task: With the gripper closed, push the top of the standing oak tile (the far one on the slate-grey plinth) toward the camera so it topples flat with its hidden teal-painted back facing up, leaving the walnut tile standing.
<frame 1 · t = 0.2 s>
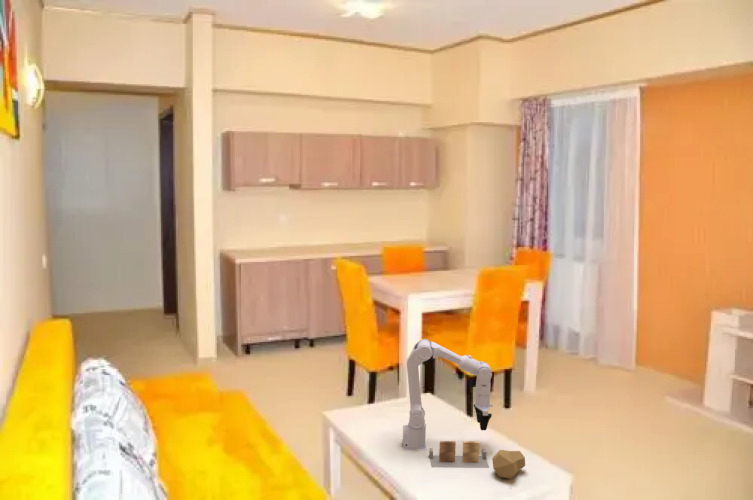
hand: (481, 426, 262), 10 cm above the table, fingers open, 7 cm apart
low-poly potato: (509, 476, 241), on the table
oak tile: (470, 461, 251), resting on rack
walnut tile: (447, 461, 251), resting on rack
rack: (458, 462, 251), on the table
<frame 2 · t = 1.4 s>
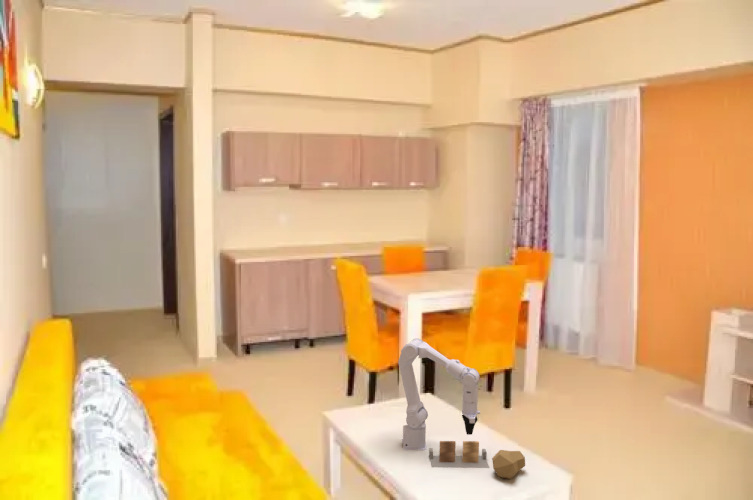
hand: (469, 433, 255), 9 cm above the table, fingers closed
nothing on the table moved.
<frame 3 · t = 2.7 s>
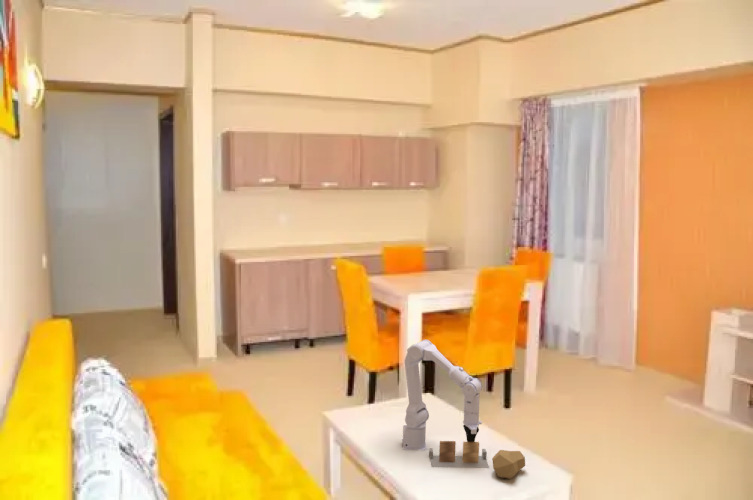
hand: (470, 444, 251), 7 cm above the table, fingers closed
nothing on the table moved.
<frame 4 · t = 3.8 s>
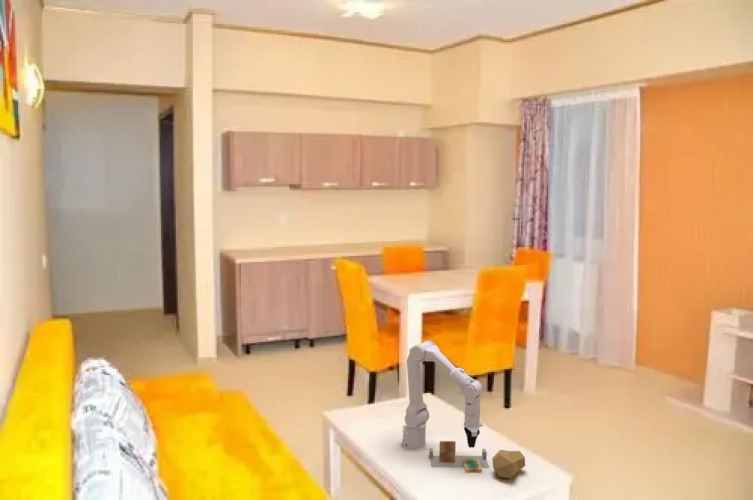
hand: (471, 446, 249), 7 cm above the table, fingers closed
oak tile: (470, 460, 250), point 1 cm above the table, tilted 90°, touching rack
everything else where it was.
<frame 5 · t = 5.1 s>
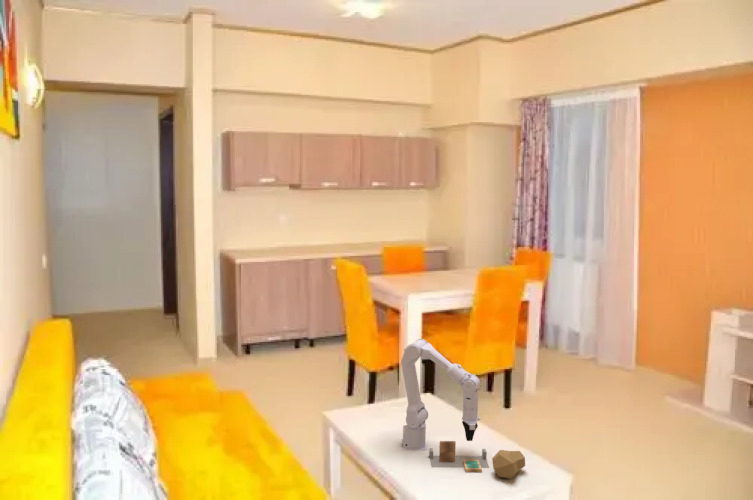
hand: (469, 440, 254), 7 cm above the table, fingers closed
nothing on the table moved.
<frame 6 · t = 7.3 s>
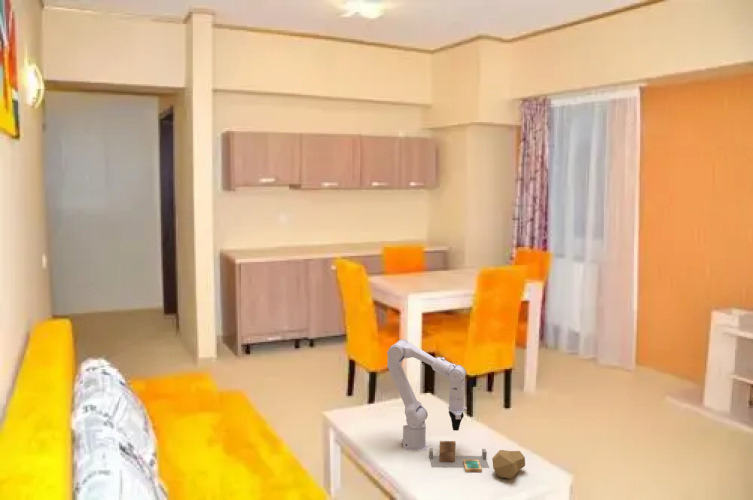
hand: (455, 429, 258), 10 cm above the table, fingers closed
nothing on the table moved.
at the end: oak tile tilted 90°; oak tile inside the target area (4.8 cm from its centre), point 1.1 cm above the table; walnut tile tilted 0° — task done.
